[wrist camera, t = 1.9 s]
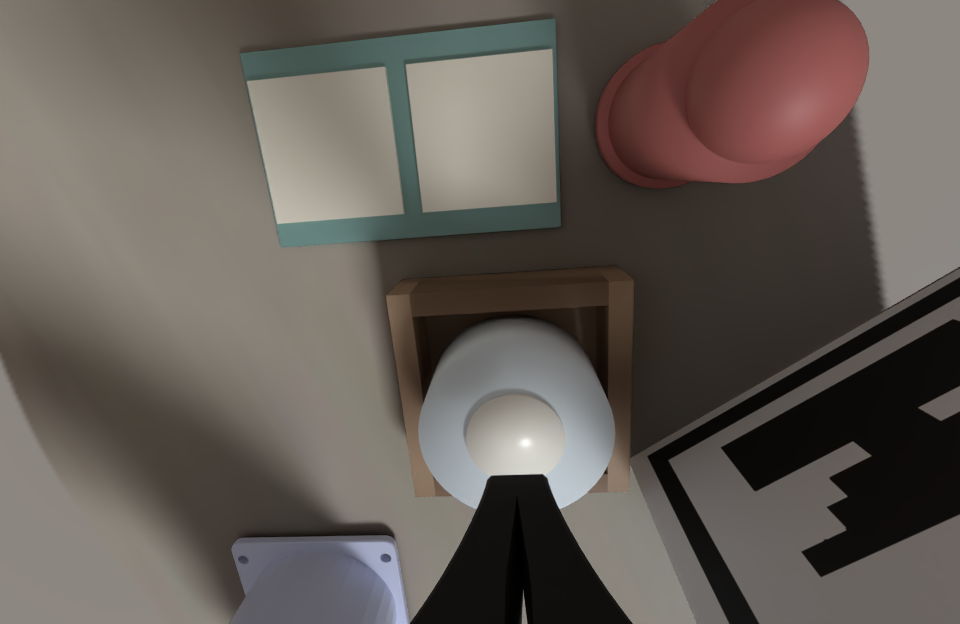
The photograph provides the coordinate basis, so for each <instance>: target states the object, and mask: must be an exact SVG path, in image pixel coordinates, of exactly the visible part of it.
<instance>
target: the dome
mask: <svg viewBox="0 0 960 624" xmlns="http://www.w3.org/2000/svg"><path fill="white" fill-rule="evenodd" d="M418 434H419V443H420V448H421V452H422V455H423V458H424V460H425V463H426V465H427V466H428V468H429V470H430V472H431V473H432V475H433V476H434V478H435V479H436V480H437V482H438V483H439V484H440V485H441V486H442V487H443V488H444V489H445V490H446V491H447V492H449V493H450V494H451V495H452V496H453V497H455V498H456V499H458V500H460V501H461V502H463V503H464V504H466V505H468V506H470V507H472V508H475V509H477V507H478V505H479V503H480V500H481V498H482V495H483V492H484V489H485V486H486V482H487V479H488V478H489V477H490V476H492V475H526V474H543V475H544V476H546V477H547V478H548V482H549V485H550V488H551V491H552V494H553V496H554V498H555V501H556V503H557V505H558V507H559V509H561V508H563V507H566V506H568V505H569V504H571V503H573V502H575V501H576V500H578V499H579V498H581V497H582V496H583V495H585V494H586V493H587V492H588V491H589V490H590V489H591V488H592V487H593V486H594V485H595V484H596V483H597V481H598V480H599V479H600V478H601V476H602V475H603V473H604V471H605V470H606V468H607V466H608V464H609V461H610V459H611V456H612V452H613V448H614V442H615V422H614V418H613V413H612V410H611V407H610V405H609V402H608V400H607V397H606V395H605V393H604V390H603V388H602V386H601V384H600V381H599V379H598V377H597V374H596V372H595V370H594V368H593V365H592V363H591V361H590V359H589V357H588V355H587V353H586V351H585V350H584V349H583V347H582V346H581V345H580V343H579V342H578V341H577V340H576V339H575V338H574V337H573V336H572V335H571V334H569V333H568V332H567V331H565V330H564V329H563V328H561V327H559V326H558V325H556V324H554V323H552V322H550V321H547V320H545V319H542V318H538V317H534V316H529V315H521V314H508V315H499V316H495V317H491V318H487V319H484V320H482V321H479V322H477V323H475V324H473V325H471V326H469V327H468V328H466V329H465V330H464V331H462V332H461V333H459V334H458V335H457V336H456V337H455V338H454V339H453V340H452V341H451V342H450V344H449V345H448V346H447V348H446V349H445V351H444V352H443V354H442V356H441V357H440V360H439V362H438V365H437V367H436V370H435V373H434V376H433V378H432V381H431V384H430V387H429V389H428V392H427V395H426V398H425V400H424V403H423V406H422V409H421V413H420V417H419V427H418Z"/></svg>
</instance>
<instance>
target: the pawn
mask: <svg viewBox="0 0 960 624" xmlns="http://www.w3.org/2000/svg"><path fill="white" fill-rule="evenodd" d="M868 65H869V47H868V41H867V37H866V34H865V31H864V29H863V27H862V25H861V23H860V21H859V20H858V18H857V17H856V15H855V14H854V13H853V12H852V11H851V10H850V9H849V8H848V7H847V6H846V5H844V4H843V3H841V2H840V1H838V0H719V1H717V2H716V3H714V4H712V5H711V6H710V7H709V8H707V9H706V10H705V11H704V12H702V13H701V14H700V15H699V16H698V17H696V18H695V19H694V20H693V21H691V22H690V23H689V24H688V25H687V26H685V27H684V28H683V29H682V30H680V31H679V32H678V33H677V34H676V35H674V36H673V37H672V38H671V39H669V40H668V41H667V42H661V43H658V44H655V45H652V46H650V47H648V48H646V49H644V50H642V51H641V52H639V53H637V54H636V55H634V56H633V57H632V58H631V59H630V60H628V61H627V62H626V63H625V64H624V65H623V66H622V67H621V68H620V69H619V70H618V71H617V72H616V73H615V74H614V75H613V76H612V78H611V79H610V80H609V82H608V83H607V85H606V87H605V88H604V90H603V92H602V94H601V97H600V99H599V102H598V105H597V109H596V114H595V125H594V128H595V138H596V143H597V147H598V150H599V152H600V154H601V156H602V158H603V160H604V162H605V163H606V165H607V166H608V167H609V168H610V169H611V171H612V172H613V173H615V174H616V175H617V176H618V177H619V178H621V179H623V180H624V181H626V182H628V183H631V184H633V185H637V186H641V187H648V188H656V189H658V188H672V187H676V186H680V185H683V184H686V183H688V182H691V181H700V182H719V183H748V182H755V181H759V180H763V179H766V178H769V177H772V176H774V175H777V174H779V173H781V172H783V171H785V170H787V169H788V168H790V167H792V166H793V165H795V164H796V163H798V162H799V161H800V160H802V159H803V158H804V157H805V156H806V155H807V154H809V153H810V152H811V151H812V150H813V149H814V148H815V147H816V146H817V145H818V143H819V142H820V141H821V140H822V139H824V138H825V137H826V136H828V135H829V134H830V133H831V132H832V131H833V130H834V129H835V128H836V127H837V126H838V125H839V124H840V123H841V122H842V121H843V120H844V118H845V117H846V116H847V115H848V113H849V112H850V111H851V109H852V108H853V106H854V104H855V103H856V101H857V99H858V97H859V95H860V93H861V91H862V88H863V85H864V82H865V79H866V75H867V71H868Z"/></svg>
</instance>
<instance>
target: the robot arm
mask: <svg viewBox="0 0 960 624" xmlns="http://www.w3.org/2000/svg"><path fill="white" fill-rule="evenodd" d="M231 551H232V554H233V558H234V561H235V564H236V567H237V570H238V574H239V577H240V580H241V583H242V587H243V590H244V593H245V596H246V597H245V598H244V600H243V601H242V603H241V605H240V606H239V608H238V610H237V611H236V613H235V614H234V616H233V618H232V619H231V621H230V623H229V624H522V604H523V591H524V599H525V607H526V615H527V623H528V624H632V622H631V621H630V620H629V618H628V617H627V616H626V614H625V613H624V612H623V610H622V609H621V608H620V606H619V605H618V604H617V602H616V601H615V600H614V598H613V597H612V596H611V594H610V593H609V591H608V590H607V589H606V587H605V586H604V584H603V583H602V581H601V580H600V578H599V577H598V575H597V574H596V572H595V571H594V569H593V568H592V566H591V564H590V563H589V561H588V560H587V558H586V557H585V555H584V553H583V552H582V550H581V548H580V547H579V545H578V543H577V541H576V540H575V538H574V536H573V534H572V532H571V531H570V529H569V527H568V525H567V523H566V522H565V520H564V518H563V516H562V514H561V512H560V509H559V507H558V505H557V503H556V501H555V498H554V496H553V494H552V491H551V488H550V485H549V482H548V478H547V477H546V476H544V475H543V474H526V475H492V476H490V477H489V478H488V479H487V482H486V486H485V489H484V492H483V495H482V498H481V500H480V503H479V505H478V507H477V510H476V512H475V514H474V517H473V519H472V521H471V523H470V525H469V527H468V529H467V531H466V533H465V535H464V537H463V539H462V541H461V543H460V545H459V547H458V549H457V550H456V552H455V554H454V556H453V557H452V559H451V561H450V563H449V564H448V566H447V568H446V570H445V571H444V573H443V575H442V576H441V578H440V580H439V581H438V583H437V584H436V586H435V588H434V589H433V591H432V592H431V594H430V595H429V597H428V598H427V600H426V601H425V603H424V604H423V606H422V607H421V608H420V610H419V611H418V613H417V614H416V616H415V617H414V618H413V620H412V621H411V622H410V620H409V614H408V608H407V602H406V596H405V590H404V585H403V579H402V573H401V567H400V561H399V555H398V549H397V544H396V541H395V540H394V539H393V538H392V537H390V536H387V535H369V536H314V537H259V538H239V539H238V540H236V541H235V543H234V544H233V546H232V548H231ZM385 554H388V555H390V556H388V555H385Z"/></svg>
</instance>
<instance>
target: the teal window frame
mask: <svg viewBox="0 0 960 624" xmlns="http://www.w3.org/2000/svg"><path fill="white" fill-rule="evenodd" d="M240 58H241V62H242V67H243V72H244V76H245V81H246V86H247V90H248V95H249V100H250V104H251V109H252V114H253V118H254V123H255V128H256V132H257V137H258V142H259V146H260V151H261V156H262V160H263V165H264V170H265V175H266V179H267V184H268V189H269V193H270V198H271V203H272V207H273V212H274V217H275V221H276V226H277V231H278V235H279V240H280V245H281V247H294V246H307V245H321V244H335V243H348V242H362V241H375V240H389V239H403V238H416V237H430V236H444V235H457V234H471V233H484V232H498V231H512V230H525V229H539V228H553V227H561V208H560V170H559V131H558V93H557V54H556V18H553V19H544V20H535V21H526V22H517V23H508V24H499V25H490V26H481V27H472V28H463V29H454V30H446V31H437V32H428V33H419V34H410V35H401V36H392V37H383V38H374V39H365V40H356V41H347V42H338V43H329V44H320V45H311V46H302V47H293V48H284V49H275V50H266V51H257V52H248V53H240Z"/></svg>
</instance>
